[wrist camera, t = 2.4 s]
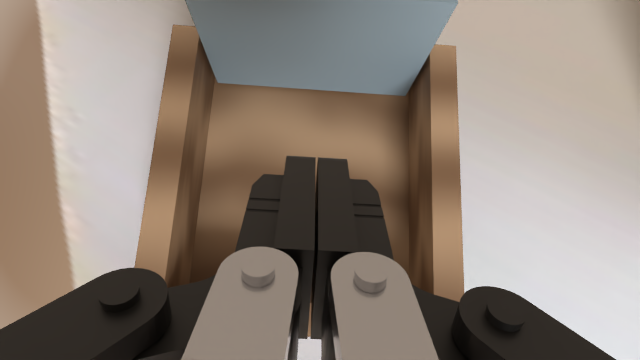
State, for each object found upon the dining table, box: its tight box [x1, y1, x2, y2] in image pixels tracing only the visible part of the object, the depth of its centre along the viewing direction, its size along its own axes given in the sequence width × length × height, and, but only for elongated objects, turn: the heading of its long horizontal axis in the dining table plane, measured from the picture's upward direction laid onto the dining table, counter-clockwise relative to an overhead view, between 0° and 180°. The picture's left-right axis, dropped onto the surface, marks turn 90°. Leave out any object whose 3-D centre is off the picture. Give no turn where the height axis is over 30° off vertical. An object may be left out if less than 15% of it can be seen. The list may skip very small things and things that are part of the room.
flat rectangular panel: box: [185, 0, 458, 96], centre depth 25 cm, size 2×13×10 cm, turn 87°
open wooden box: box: [134, 25, 464, 337], centre depth 26 cm, size 17×17×7 cm
